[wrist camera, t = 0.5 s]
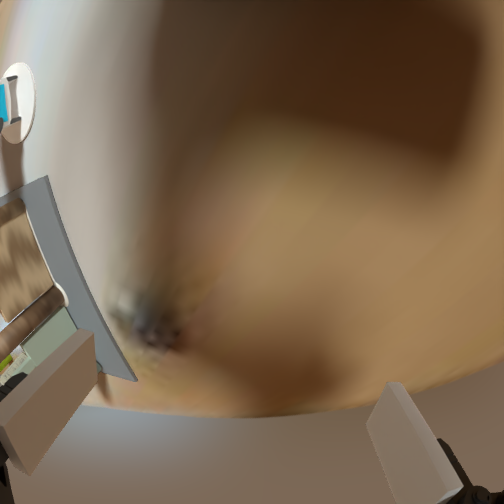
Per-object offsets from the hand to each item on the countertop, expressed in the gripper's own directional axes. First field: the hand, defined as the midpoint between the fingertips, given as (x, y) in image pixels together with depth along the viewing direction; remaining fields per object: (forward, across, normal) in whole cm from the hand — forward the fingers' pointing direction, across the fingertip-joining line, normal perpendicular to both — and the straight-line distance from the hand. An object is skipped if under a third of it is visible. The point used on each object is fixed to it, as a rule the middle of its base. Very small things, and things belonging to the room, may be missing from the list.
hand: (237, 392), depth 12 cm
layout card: (+28, -32, -13) cm, 44 cm away
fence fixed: (+24, -30, -5) cm, 39 cm away
